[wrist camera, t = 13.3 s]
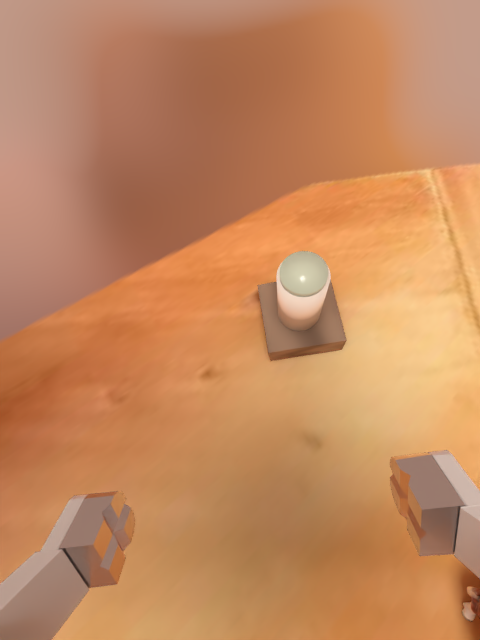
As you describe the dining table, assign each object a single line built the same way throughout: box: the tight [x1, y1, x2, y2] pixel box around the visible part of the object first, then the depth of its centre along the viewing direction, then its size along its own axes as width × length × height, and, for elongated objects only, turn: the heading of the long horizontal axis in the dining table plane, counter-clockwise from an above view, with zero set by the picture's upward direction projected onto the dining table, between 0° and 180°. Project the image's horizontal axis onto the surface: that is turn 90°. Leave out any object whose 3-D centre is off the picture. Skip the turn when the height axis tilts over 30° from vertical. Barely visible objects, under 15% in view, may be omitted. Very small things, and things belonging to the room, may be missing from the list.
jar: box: [277, 251, 331, 331], centre depth 34 cm, size 5×5×10 cm
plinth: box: [258, 279, 346, 361], centre depth 40 cm, size 9×9×4 cm
